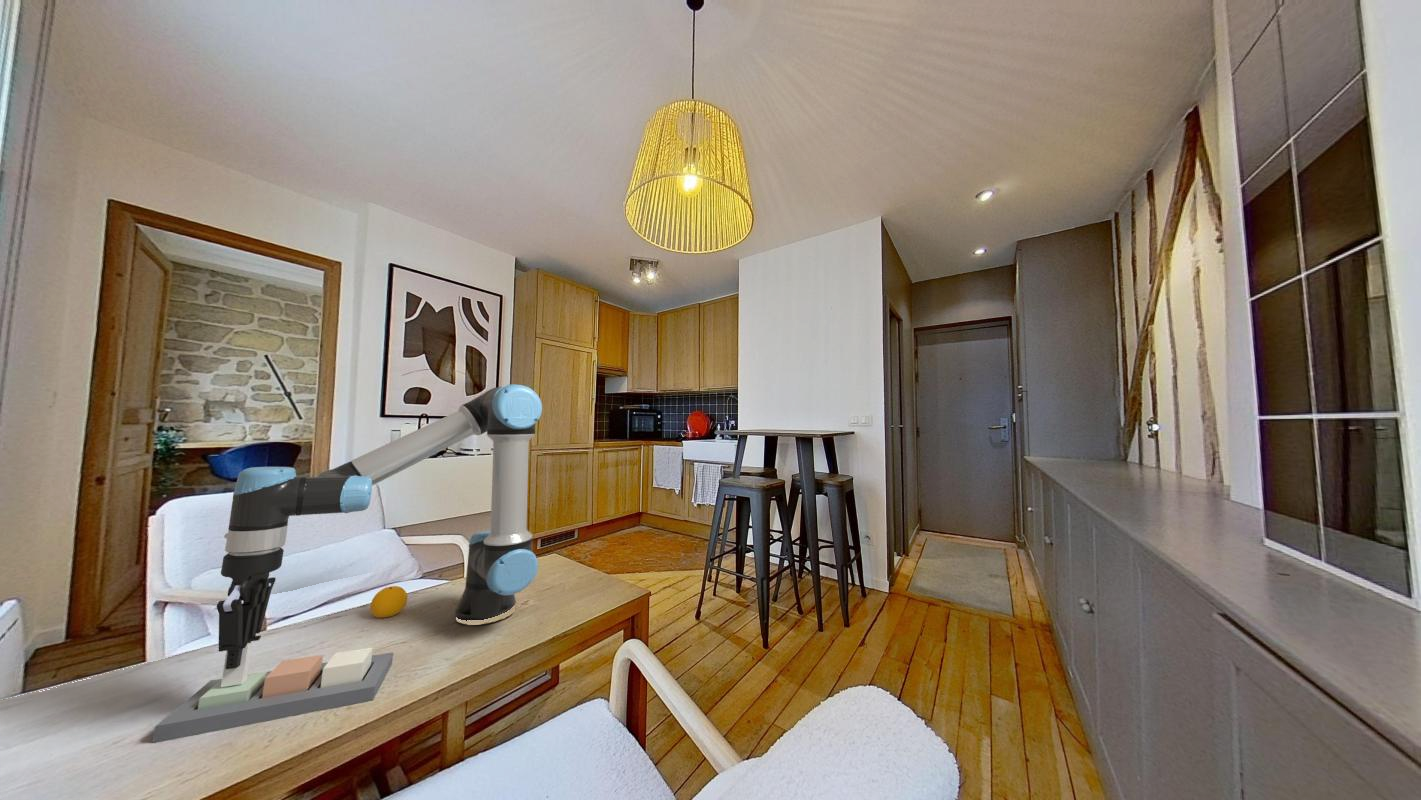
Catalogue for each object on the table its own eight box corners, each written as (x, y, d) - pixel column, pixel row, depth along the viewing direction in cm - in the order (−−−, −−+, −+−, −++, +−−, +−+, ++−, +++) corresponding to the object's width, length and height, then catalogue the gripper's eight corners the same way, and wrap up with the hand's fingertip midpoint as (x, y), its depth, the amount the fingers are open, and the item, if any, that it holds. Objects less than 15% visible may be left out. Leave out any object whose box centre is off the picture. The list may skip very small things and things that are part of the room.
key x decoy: (320, 673, 80) (322, 654, 80) (306, 690, 75) (309, 671, 75) (279, 679, 77) (282, 660, 78) (262, 698, 72) (265, 677, 72)
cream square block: (370, 664, 83) (372, 647, 84) (360, 681, 78) (363, 662, 78) (333, 671, 81) (335, 652, 81) (320, 688, 75) (323, 668, 76)
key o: (264, 691, 76) (266, 671, 77) (245, 711, 71) (248, 690, 71) (219, 698, 74) (222, 678, 74) (196, 720, 68) (199, 698, 69)
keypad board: (391, 664, 88) (393, 652, 88) (373, 700, 76) (374, 686, 76) (208, 694, 76) (210, 680, 76) (152, 742, 64) (155, 726, 64)
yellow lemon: (409, 607, 115) (412, 580, 116) (401, 619, 108) (404, 590, 109) (374, 610, 112) (378, 583, 113) (364, 623, 105) (367, 593, 106)
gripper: (248, 542, 79) (227, 668, 77) (201, 562, 67) (176, 711, 65) (298, 540, 82) (280, 660, 80) (263, 558, 71) (240, 700, 68)
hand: (233, 683), depth 73 cm, fingers closed
